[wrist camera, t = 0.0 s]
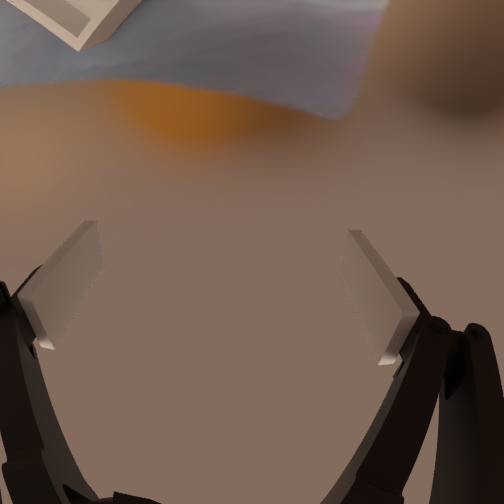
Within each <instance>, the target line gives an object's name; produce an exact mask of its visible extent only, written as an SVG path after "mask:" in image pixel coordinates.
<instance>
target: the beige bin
mask: <svg viewBox="0 0 504 504" xmlns="http://www.w3.org/2000/svg"><path fill="white" fill-rule="evenodd" d="M7 1H8V2H10V3H11V4H13V5H14V6H16V7H17V8H19V9H20V10H21V11H23V12H24V13H26V14H27V15H29V16H30V17H32V18H33V19H34V20H36V21H37V22H39V23H40V24H41V25H43V26H44V27H46V28H47V29H48V30H50V31H51V32H52V33H54V34H55V35H57V36H58V37H59V38H61V39H62V40H63V41H65V42H66V43H67V44H69V45H70V46H71V47H73V48H74V49H75V50H77V51H78V52H79V51H82V50H84V49H86V48H89V47H91V46H93V45H96V44H98V43H101V42H103V41H106V40H108V39H109V38H110V37H111V35H112V34H113V33H114V32H115V31H116V29H117V28H118V27H119V26H120V25H121V24H122V23H123V21H124V20H125V19H126V18H127V17H128V16H129V15H130V14H131V13H132V12H133V10H134V9H135V8H136V7H137V6H138V5H139V4H140V3H141V2H142V1H143V0H7Z"/></svg>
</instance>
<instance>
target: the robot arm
mask: <svg viewBox="0 0 504 504" xmlns="http://www.w3.org/2000/svg"><path fill="white" fill-rule="evenodd" d="M104 266H105V261H104V256H103V251H102V246H101V241H100V235H99V230H98V224H97V221H84V222H83V223H82V224H81V225H80V227H78V228H77V229H76V230H75V231H74V232H73V233H72V234H71V235H70V236H69V237H68V238H67V239H66V241H64V242H63V244H61V245H60V247H59V248H58V249H57V250H56V251H55V252H54V253H53V254H52V255H51V256H50V257H49V258H48V260H47V261H46V262H45V263H44V264H42V265H41V266H39V267H38V268H36V269H35V270H34V271H33V272H32V273H31V274H30V275H29V277H28V278H27V279H26V280H25V281H24V283H22V285H21V286H20V287H19V288H18V289H17V291H16V292H15V293H14V294H13V295H12V297H11V296H10V294H9V292H8V289H7V287H6V284H5V283H4V282H3V281H0V432H1V437H2V441H3V444H4V448H5V452H6V456H7V462H5V463H3V464H2V472H3V477H4V480H5V483H6V486H7V489H8V492H9V494H10V497H11V500H12V502H13V504H161V503H158V502H156V501H153V500H151V499H146V498H141V497H136V496H132V495H127V494H123V493H119V492H114V494H113V497H109V498H101V499H99V498H98V496H97V495H96V494H95V492H94V491H93V490H92V488H91V487H90V486H89V485H88V484H87V482H86V481H85V479H84V478H83V476H82V474H81V472H80V470H79V468H78V466H77V465H76V462H75V460H74V458H73V456H72V454H71V451H70V449H69V447H68V445H67V443H66V440H65V438H64V435H63V433H62V430H61V428H60V425H59V423H58V420H57V418H56V415H55V412H54V410H53V407H52V404H51V401H50V398H49V395H48V392H47V389H46V385H45V382H44V379H43V375H42V372H41V368H40V365H39V361H38V357H37V353H36V349H35V347H34V345H33V341H34V339H35V338H36V337H37V339H38V341H39V343H40V345H41V347H45V348H49V349H53V350H55V348H56V346H57V344H58V342H59V341H60V339H61V337H62V335H63V333H64V331H65V329H66V328H67V326H68V324H69V323H70V321H71V319H72V318H73V316H74V314H75V312H76V311H77V309H78V307H79V306H80V304H81V302H82V301H83V299H84V298H85V296H86V294H87V293H88V291H89V290H90V288H91V286H92V285H93V283H94V282H95V280H96V278H97V277H98V276H99V274H100V272H101V271H102V269H103V268H104ZM338 276H339V279H340V281H341V283H342V285H343V287H344V289H345V291H346V293H347V296H348V298H349V300H350V302H351V304H352V307H353V309H354V311H355V313H356V315H357V318H358V320H359V322H360V324H361V327H362V329H363V331H364V334H365V336H366V338H367V341H368V343H369V345H370V348H371V350H372V353H373V355H374V357H375V360H376V362H377V365H384V364H392V363H394V362H395V360H396V358H397V356H398V354H400V356H401V358H402V360H403V361H402V362H401V364H400V366H399V367H398V369H397V371H396V372H395V374H394V376H393V378H394V380H393V382H392V384H391V386H390V388H389V390H388V393H387V395H386V397H385V399H384V401H383V403H382V405H381V407H380V409H379V411H378V413H377V415H376V417H375V419H374V420H373V422H372V424H371V426H370V428H369V430H368V432H367V433H366V435H365V437H364V439H363V441H362V442H361V444H360V446H359V447H358V449H357V451H356V452H355V454H354V456H353V457H352V459H351V461H350V462H349V464H348V465H347V467H346V469H345V470H344V471H343V473H342V474H341V476H340V478H339V479H338V481H337V482H336V483H335V485H334V486H333V488H332V489H331V491H330V492H329V493H328V495H327V496H326V498H325V499H324V500H323V501H322V502H321V503H320V504H404V497H403V496H402V491H403V488H404V486H405V484H406V482H407V480H408V478H409V476H410V473H411V471H412V469H413V466H414V464H415V462H416V459H417V457H418V454H419V452H420V449H421V446H422V444H423V441H424V439H425V436H426V433H427V430H428V427H429V424H430V421H431V418H432V415H433V412H434V408H435V405H436V402H437V398H438V395H439V425H438V442H437V452H436V462H435V470H434V478H433V484H432V491H431V497H430V502H429V504H504V397H503V390H502V385H501V379H500V374H499V369H498V365H497V360H496V356H495V352H494V348H493V344H492V340H491V336H490V334H489V332H488V331H487V330H486V329H485V328H484V327H483V326H482V325H479V324H476V323H470V324H468V326H467V327H466V329H465V330H464V332H461V331H455V330H452V329H451V327H450V325H449V324H448V323H447V322H446V321H445V320H443V319H442V318H440V317H436V316H431V315H430V313H429V311H428V310H427V309H426V307H425V306H424V304H423V303H422V301H421V300H420V299H419V298H418V296H417V294H416V293H415V292H414V290H413V289H412V287H411V286H410V285H409V283H407V282H406V281H405V280H403V279H402V278H400V277H398V278H396V277H395V275H394V274H393V273H392V271H391V270H390V268H389V267H388V266H387V264H386V263H385V262H384V260H383V259H382V258H381V256H380V255H379V253H378V252H377V251H376V249H375V248H374V247H373V246H372V244H371V243H370V242H369V240H368V239H367V238H366V236H365V235H364V234H363V233H362V231H361V230H347V235H346V239H345V244H344V248H343V253H342V257H341V261H340V266H339V270H338ZM0 504H2V498H1V491H0Z"/></svg>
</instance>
